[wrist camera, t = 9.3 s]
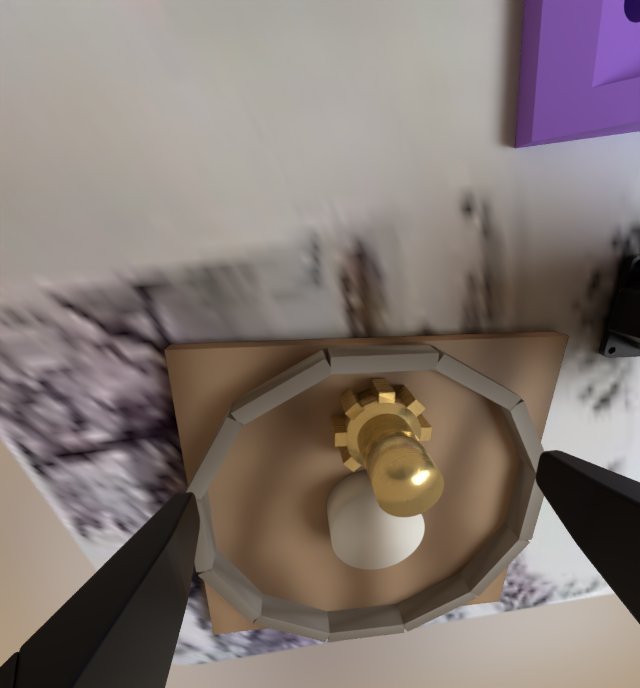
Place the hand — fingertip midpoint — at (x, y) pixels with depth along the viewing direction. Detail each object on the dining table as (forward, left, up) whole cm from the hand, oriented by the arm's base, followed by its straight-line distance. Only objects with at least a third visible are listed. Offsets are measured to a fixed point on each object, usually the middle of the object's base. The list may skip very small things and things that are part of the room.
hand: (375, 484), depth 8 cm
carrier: (-3, +12, -12) cm, 17 cm away
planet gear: (-3, +5, -11) cm, 12 cm away
